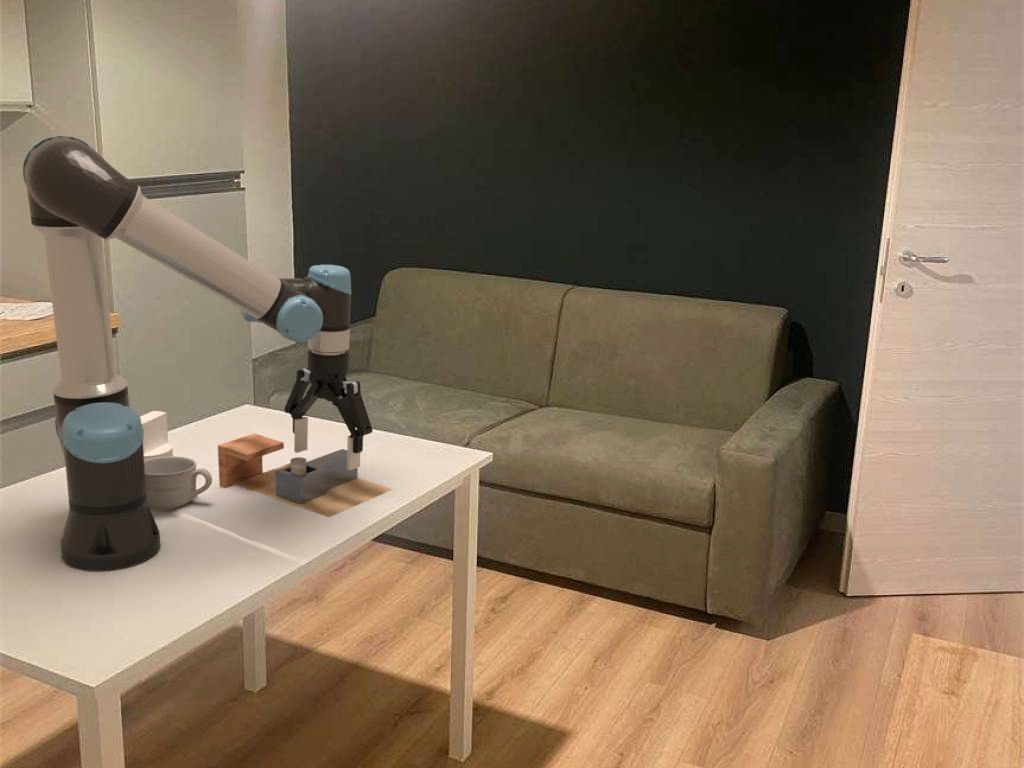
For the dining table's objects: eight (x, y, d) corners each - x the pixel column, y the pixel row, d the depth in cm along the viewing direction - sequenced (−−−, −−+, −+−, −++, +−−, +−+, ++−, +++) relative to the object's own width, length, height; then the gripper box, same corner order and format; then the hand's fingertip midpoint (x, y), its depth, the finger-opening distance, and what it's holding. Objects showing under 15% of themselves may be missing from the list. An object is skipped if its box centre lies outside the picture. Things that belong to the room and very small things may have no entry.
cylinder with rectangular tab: (154, 489, 197) (150, 428, 193) (114, 481, 199) (110, 421, 196) (183, 473, 205) (180, 414, 202) (144, 466, 208) (141, 408, 204)
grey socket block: (300, 504, 190) (300, 478, 189) (275, 495, 193) (275, 470, 192) (362, 479, 203) (362, 455, 201) (337, 471, 206) (337, 447, 205)
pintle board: (325, 524, 185) (324, 480, 182) (219, 486, 199) (217, 445, 197) (392, 494, 199) (393, 453, 197) (289, 460, 214) (288, 422, 211)
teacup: (122, 510, 187) (119, 468, 185) (162, 490, 197) (159, 449, 194) (188, 524, 182) (186, 481, 180) (225, 502, 192) (223, 461, 190)
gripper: (394, 359, 189) (390, 470, 195) (295, 335, 203) (294, 439, 208) (365, 366, 183) (362, 481, 189) (265, 340, 197) (265, 448, 202)
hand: (326, 459), depth 199 cm, fingers open, 13 cm apart
